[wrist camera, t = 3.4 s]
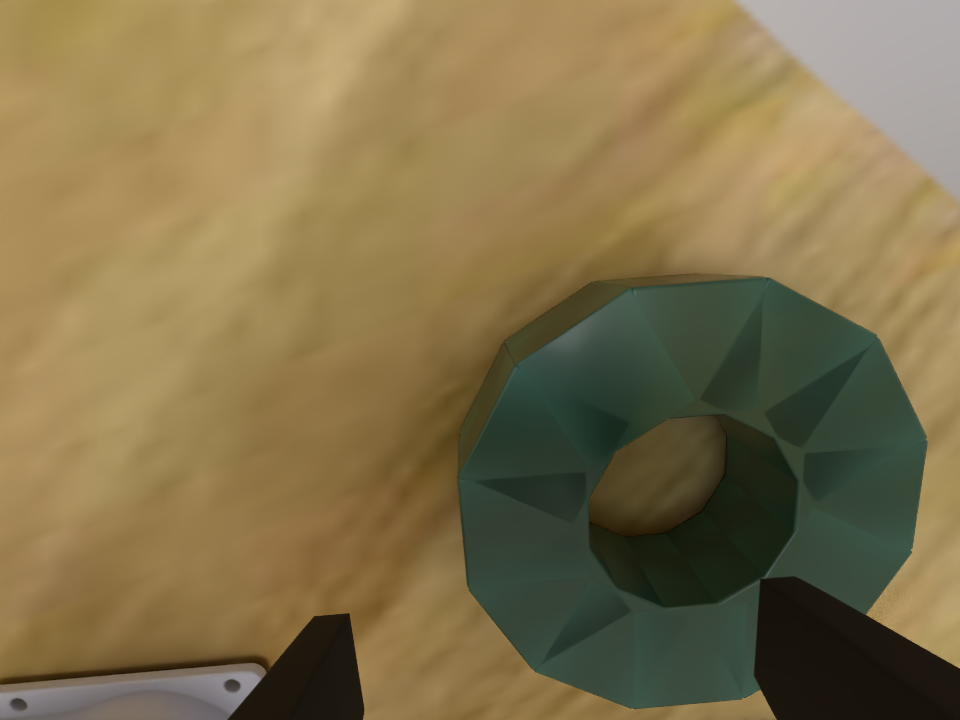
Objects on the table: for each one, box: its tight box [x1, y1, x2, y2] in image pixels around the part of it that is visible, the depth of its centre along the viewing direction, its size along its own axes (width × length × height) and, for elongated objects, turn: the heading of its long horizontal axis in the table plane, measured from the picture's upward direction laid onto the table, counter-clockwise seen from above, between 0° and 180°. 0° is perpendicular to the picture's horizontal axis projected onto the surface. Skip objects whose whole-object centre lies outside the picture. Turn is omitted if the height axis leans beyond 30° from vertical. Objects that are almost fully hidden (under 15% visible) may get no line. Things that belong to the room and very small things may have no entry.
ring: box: [457, 273, 927, 709], centre depth 13 cm, size 12×12×3 cm
